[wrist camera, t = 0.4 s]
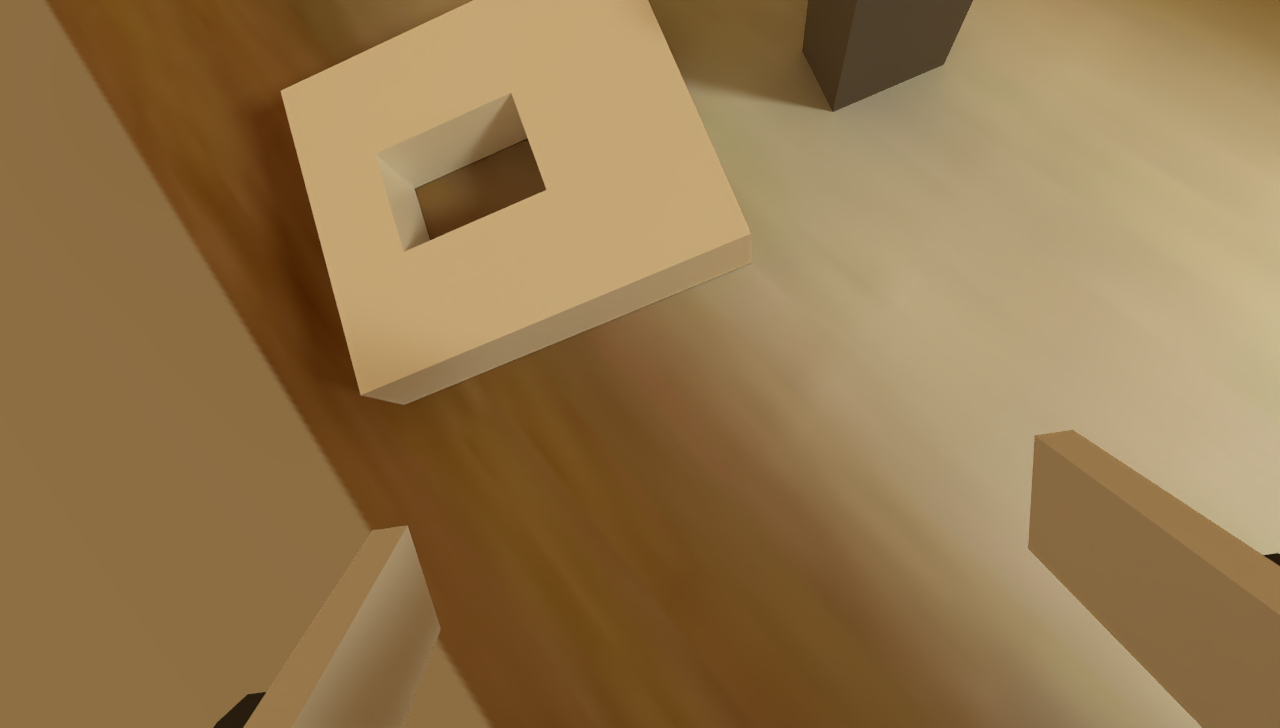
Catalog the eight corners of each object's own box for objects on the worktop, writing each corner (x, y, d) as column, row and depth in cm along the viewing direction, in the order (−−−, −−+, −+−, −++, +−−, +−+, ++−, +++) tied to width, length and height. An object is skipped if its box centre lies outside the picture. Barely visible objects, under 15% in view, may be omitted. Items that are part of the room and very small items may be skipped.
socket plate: (751, 262, 33) (750, 233, 29) (404, 404, 35) (360, 395, 31) (632, -11, 37) (618, -68, 33) (327, 129, 39) (280, 90, 35)
